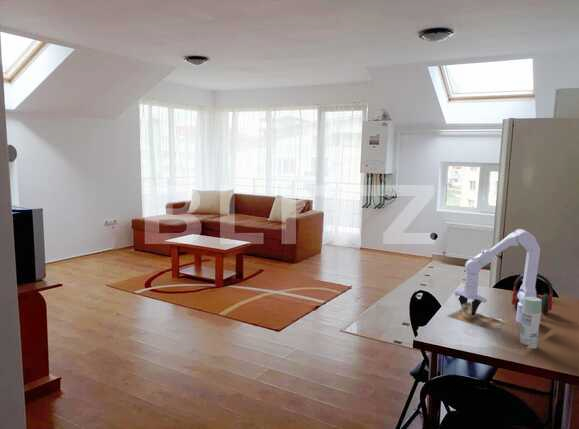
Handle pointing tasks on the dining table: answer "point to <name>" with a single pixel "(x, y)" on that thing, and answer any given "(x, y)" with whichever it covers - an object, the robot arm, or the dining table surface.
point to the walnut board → (479, 320)
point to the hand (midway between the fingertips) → (468, 313)
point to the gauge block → (467, 310)
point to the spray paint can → (530, 321)
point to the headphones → (545, 299)
